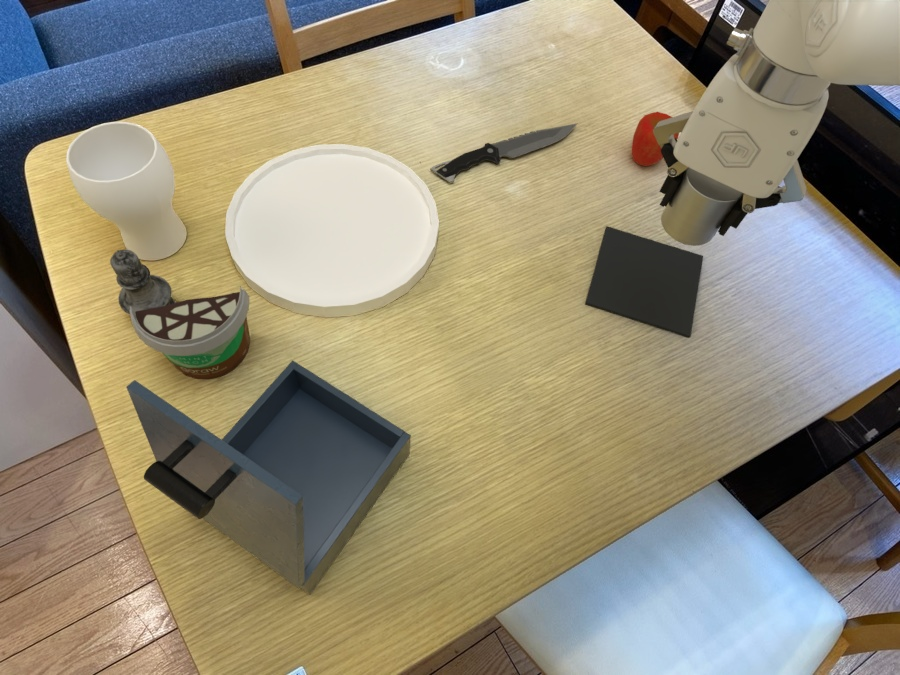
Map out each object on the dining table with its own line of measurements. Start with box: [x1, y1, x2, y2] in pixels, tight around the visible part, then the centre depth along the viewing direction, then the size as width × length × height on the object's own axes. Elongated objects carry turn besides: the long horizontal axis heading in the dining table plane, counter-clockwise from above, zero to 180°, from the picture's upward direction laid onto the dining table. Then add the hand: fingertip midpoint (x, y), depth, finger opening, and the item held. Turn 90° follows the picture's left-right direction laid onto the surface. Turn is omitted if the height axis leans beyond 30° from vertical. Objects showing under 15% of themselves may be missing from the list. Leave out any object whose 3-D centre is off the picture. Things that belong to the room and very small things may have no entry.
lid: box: [126, 379, 305, 589], centre depth 50 cm, size 18×16×5 cm
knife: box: [429, 123, 578, 184], centre depth 95 cm, size 26×1×5 cm
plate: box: [224, 143, 440, 318], centre depth 84 cm, size 28×28×2 cm
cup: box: [65, 121, 188, 261], centre depth 76 cm, size 11×11×15 cm
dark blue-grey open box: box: [221, 360, 412, 596], centre depth 65 cm, size 18×16×6 cm
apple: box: [631, 111, 680, 167], centre depth 94 cm, size 6×6×8 cm
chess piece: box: [109, 249, 177, 316], centre depth 71 cm, size 6×6×12 cm
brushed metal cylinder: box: [660, 168, 743, 247], centre depth 66 cm, size 6×6×7 cm
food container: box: [129, 285, 251, 380], centre depth 69 cm, size 12×6×10 cm, turn 106°
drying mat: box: [584, 225, 704, 338], centre depth 85 cm, size 14×14×1 cm
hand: (696, 211), depth 67 cm, fingers closed on brushed metal cylinder, 6 cm apart
